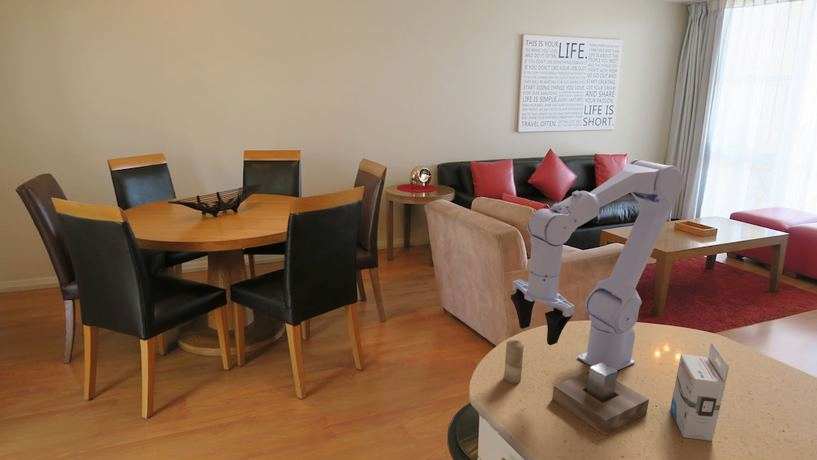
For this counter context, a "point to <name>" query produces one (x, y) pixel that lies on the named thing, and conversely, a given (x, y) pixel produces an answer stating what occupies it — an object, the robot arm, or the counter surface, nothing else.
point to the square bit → (602, 382)
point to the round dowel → (513, 361)
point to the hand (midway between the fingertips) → (537, 335)
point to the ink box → (699, 394)
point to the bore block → (600, 404)
